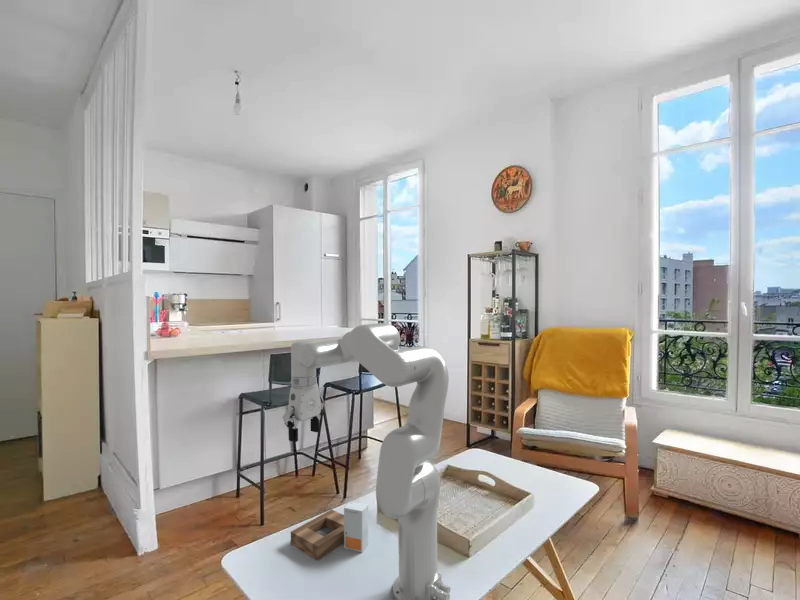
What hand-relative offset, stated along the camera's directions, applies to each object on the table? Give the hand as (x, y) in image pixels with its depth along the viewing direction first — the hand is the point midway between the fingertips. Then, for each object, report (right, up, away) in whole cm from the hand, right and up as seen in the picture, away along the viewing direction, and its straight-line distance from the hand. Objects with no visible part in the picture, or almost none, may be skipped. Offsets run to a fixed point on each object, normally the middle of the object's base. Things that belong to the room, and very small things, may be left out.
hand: (304, 436), depth 130 cm
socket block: (+7, -30, -4) cm, 31 cm away
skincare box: (+17, -30, -8) cm, 35 cm away
